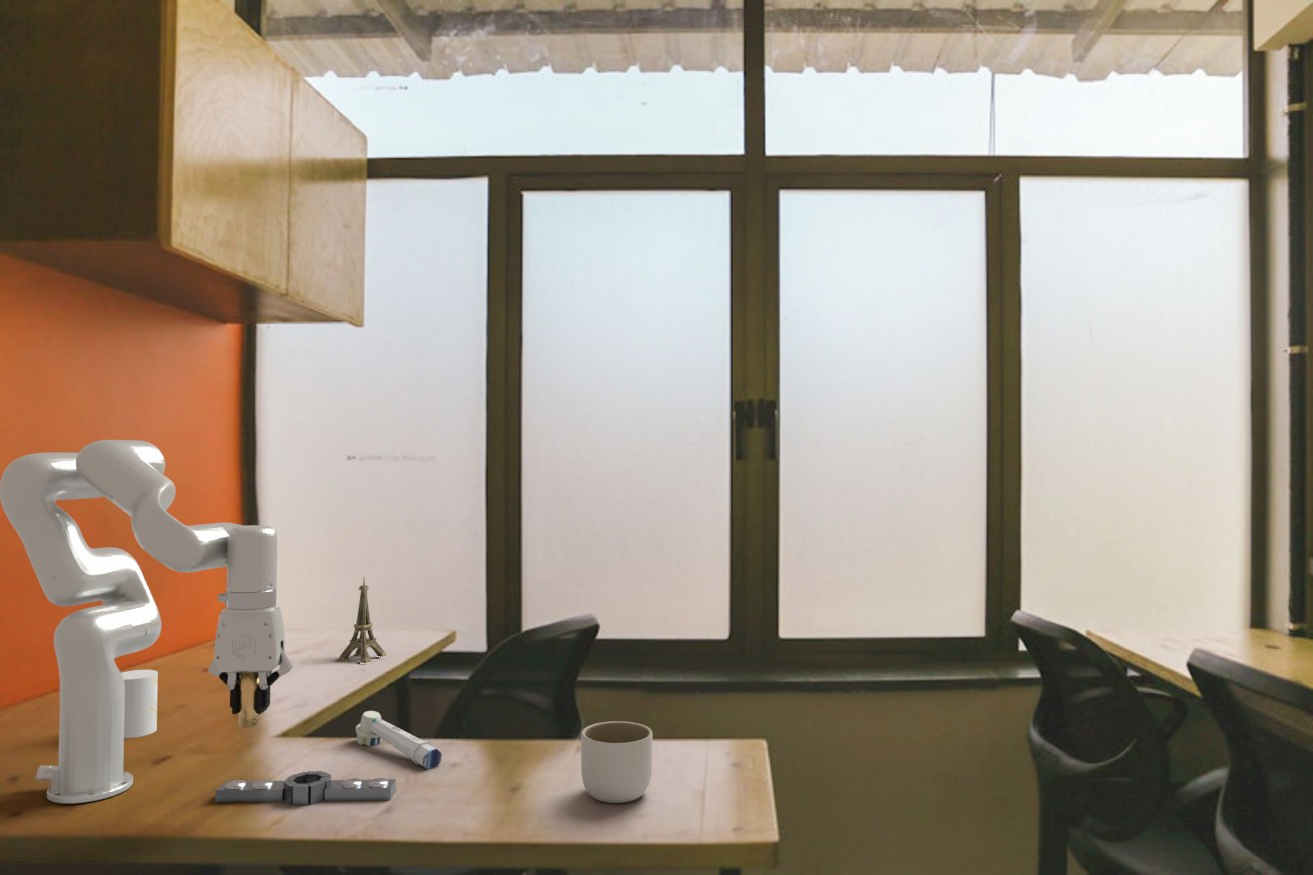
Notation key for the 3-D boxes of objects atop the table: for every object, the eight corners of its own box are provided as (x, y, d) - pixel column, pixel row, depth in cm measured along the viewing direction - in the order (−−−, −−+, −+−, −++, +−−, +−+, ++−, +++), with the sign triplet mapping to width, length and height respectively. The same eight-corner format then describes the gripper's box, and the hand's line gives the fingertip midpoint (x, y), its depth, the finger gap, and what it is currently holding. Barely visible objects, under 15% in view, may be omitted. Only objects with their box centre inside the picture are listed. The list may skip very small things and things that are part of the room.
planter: (658, 785, 158) (659, 723, 158) (642, 812, 146) (643, 746, 146) (592, 778, 161) (593, 718, 161) (570, 804, 149) (571, 740, 149)
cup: (162, 731, 184) (163, 674, 184) (118, 741, 178) (119, 681, 178) (149, 723, 190) (150, 667, 190) (106, 731, 184) (107, 674, 184)
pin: (235, 727, 144) (236, 672, 144) (243, 721, 147) (244, 667, 147) (255, 727, 144) (256, 672, 144) (263, 721, 147) (264, 667, 147)
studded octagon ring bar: (211, 805, 147) (211, 787, 147) (229, 789, 154) (229, 772, 154) (388, 803, 148) (388, 785, 149) (397, 787, 156) (398, 770, 156)
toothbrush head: (422, 752, 163) (352, 706, 179) (419, 786, 164) (349, 738, 180) (446, 745, 167) (375, 701, 183) (442, 779, 168) (372, 732, 184)
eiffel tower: (359, 653, 257) (360, 567, 257) (389, 656, 253) (391, 569, 253) (334, 661, 247) (336, 572, 247) (366, 665, 243) (367, 574, 243)
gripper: (190, 604, 142) (188, 719, 141) (294, 604, 143) (292, 718, 142) (211, 596, 149) (209, 705, 149) (309, 596, 150) (308, 705, 150)
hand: (250, 710), depth 146 cm, fingers closed on pin, 3 cm apart
